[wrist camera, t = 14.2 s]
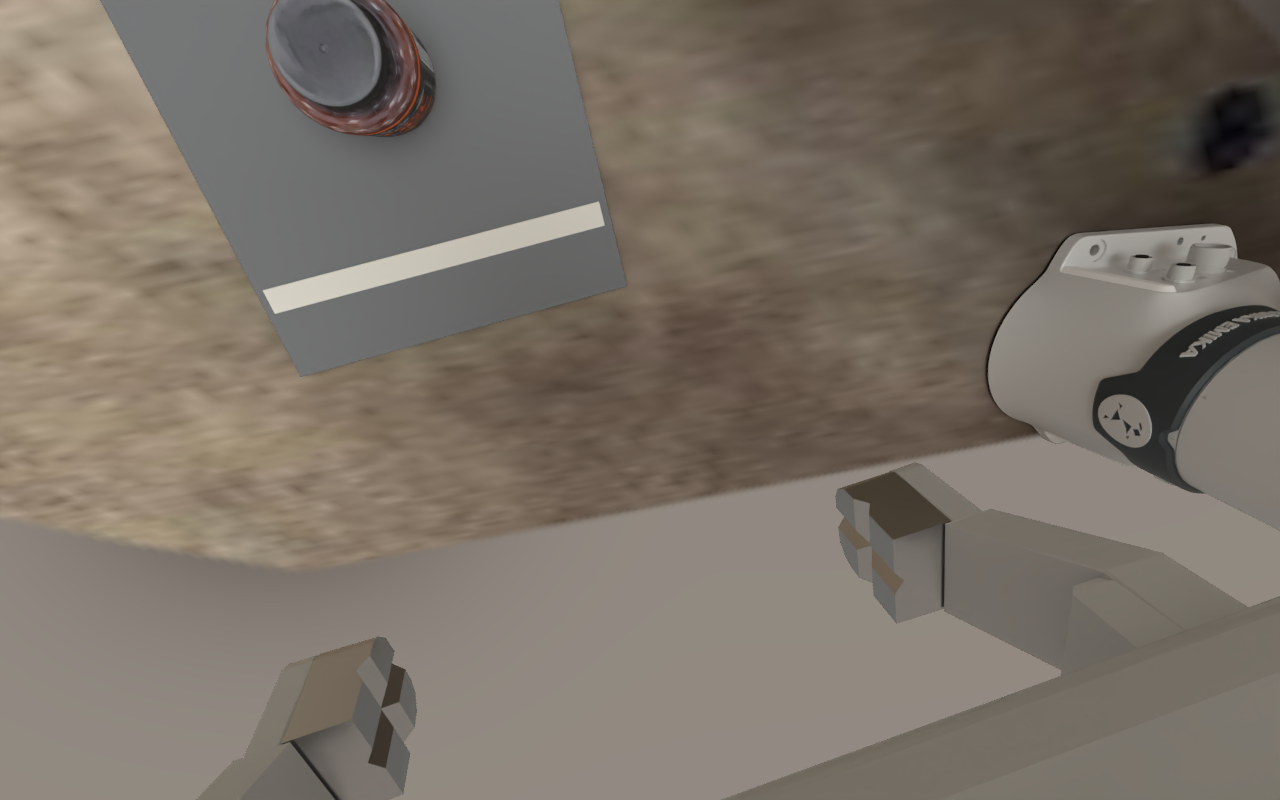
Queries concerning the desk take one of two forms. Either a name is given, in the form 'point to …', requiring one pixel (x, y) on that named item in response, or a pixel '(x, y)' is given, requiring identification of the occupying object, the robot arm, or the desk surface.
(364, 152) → the mat
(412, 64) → the supplement bottle
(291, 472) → the desk surface
